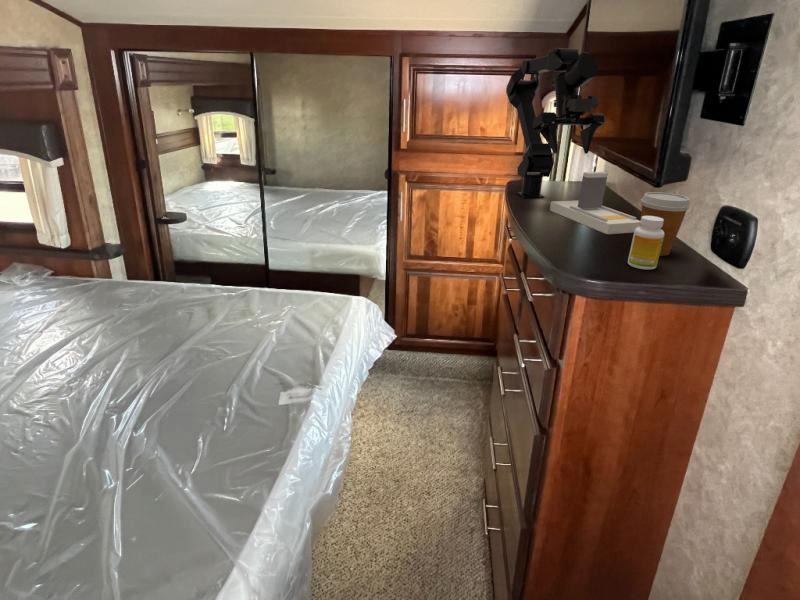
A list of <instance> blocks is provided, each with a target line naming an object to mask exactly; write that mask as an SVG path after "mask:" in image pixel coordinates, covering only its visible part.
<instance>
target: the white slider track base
mask: <svg viewBox="0 0 800 600" xmlns="http://www.w3.org/2000/svg"><path fill="white" fill-rule="evenodd" d="M578 201H579V199H576V200H556V201H551V202H550V205H549V206H550V207H549V211H551V212H553V213H555V214H558V215H560V216H562V217H565V218H567V219H569V220H572V221H574V222H576V223H579V224H582V225H584V226H586V227H589V228H591V229H594V230H595V231H598V232H600V233H603V234H606V235H617V234H628V233H629V234H634V231H635V229H636V228H637V227H640V221H641V220H639V219H637V217H636V216H633V215H630V214H627V213H624V212H622V211H620V210H619V211H618V210H616V209H613V208H611V207H608V206H605V205H602V207H601V208H588V209H581V208H579V207H578Z"/></svg>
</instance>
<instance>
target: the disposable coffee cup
mask: <svg viewBox="0 0 800 600" xmlns="http://www.w3.org/2000/svg"><path fill="white" fill-rule="evenodd" d="M640 204H641V213H640V214H641V215H640V218H641V217H642V216H655V217H660V218H662V219H664V222H663V226H662V227H661V230H663V231H664V239H663V243H662V247H661V251H660V255H659V257H660V256H661V257H662V256H668V255H670V253H671V250H672V249H673V246H674V243H675V241H676V239H677V235H678V233H679V231H680V228H681V225H682V223H683V222H684V219H685V217H686V216H685V215H686V213H687V211H688V210H689V209H690V208H691V206H692V205H691V204H690V197H688V196H685V195H681V194H676V193H670V192H662V191H661V192H660V191H659V192H658V191H655V192H654V191H651V192H650V191H649V192H645V193H644V195H643V197H642V198H640ZM640 226H641V224H640Z"/></svg>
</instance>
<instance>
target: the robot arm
mask: <svg viewBox="0 0 800 600" xmlns="http://www.w3.org/2000/svg"><path fill="white" fill-rule="evenodd" d="M548 72H561V73H559V74H556V75H554V78H553V79H552V80H551V83H550V85H551V86H554V93H555V94H554V95H555V102H553V108H556V112H554V111H553V112H550V111H549V112H546V111H544V112H541V113H540V114H539V115H537V116H536V111H535V108H534V105H533V102H534V99H535V97H536V94H537V93H536V91H537V89H538V88H539V85H540V83H539V75H540V74H542V73H548ZM598 72H599V65H598V64H597V62H596V60H595V59H594V58H593V57H591V53H590V52H586V51H585V52H581V53H579V50H578V48H570V47H569V48H568V47H567V48H566V47H563V48H562V47H554V48H553V49H551V50H549V51H548V54H547V55H545V56H544V55H543V56H539V57H535V58H532V59H526V60H525V59H524V60H523V61H522V63H521V66H520V67H519V68H518V69H517V70H515V72H514V73H513V74H512V75H511V76H510V78H509V80H508V83H507V84H506V88H505V89H506V90H505V93H506V96H507V98H508V101H509V104H510V105H511V106H513V107H514V108H515V109H516V110H517V111H516V112H517V116H518V119H519V125H520V129H521V133H522V136H523V141H524V145H525V150H524V152H523V155H522V160H521V162H520V164H519V165H518V167H517V175H518V176H521V177H523V178H522V187H521V191H517V194H518V195H520V196H521V197H522V198H529V199H530V198H540V199H541V198H545V195H543V194H541V191H542V185H543V178H549V177H550V176H551V172H552V169H553V167H554V163H555V161H554V157H553V156H554V154H556V155H557V154H558V152H559V150H558V148H559V147H558V138H557V136H558V135H557V129H558V126H580V129H581V131H579V133H580V138H581V139H580V140H581V143H582V149H583V152H584V155H585V154H586V155H587V154H588V153H589V151H590V147H591V144H592V140H593V137H594V135H595V132H596V131H597V129H600V128H602V126H603V125H605V124H606V122H607V121H606V116H605V114H604V113H597V112H595V113H594V112H593V110H594V109H595V110H597V109H598V107H599V103H600V101H599V96H598V95H594V94H593V95H588V97H587V98H583V96H582V95H581V94H579V88H581V87H583V86H584V85H585V84H587V83H589V81H591V80H592V79H593V78H595V77H596V76H597V74H598ZM526 75H533V79H532V80H527V79H525V80H523V78H525V76H526ZM586 112H588V113H589V114H588V115H586V116H585V117H581V116H584V115H585V114H586ZM541 135H542V136H541ZM542 137H543V139H544V140H545V141H546V142H545V143H544V142H543V140H542ZM553 153H554V154H553Z"/></svg>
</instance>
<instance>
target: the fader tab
mask: <svg viewBox="0 0 800 600" xmlns="http://www.w3.org/2000/svg"><path fill="white" fill-rule="evenodd" d="M582 174H583V175H582V178H581V179H582V180H581V185H580V192H579V196H578V197H579V198H578V200H579V201H578V207H579V208H581V209H588V208H601V207H602V206H603V201H604V197H605V191H606V185H607V180H608V174H609V173H608V172H605V171H590V172H589V171H583V173H582Z"/></svg>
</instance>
